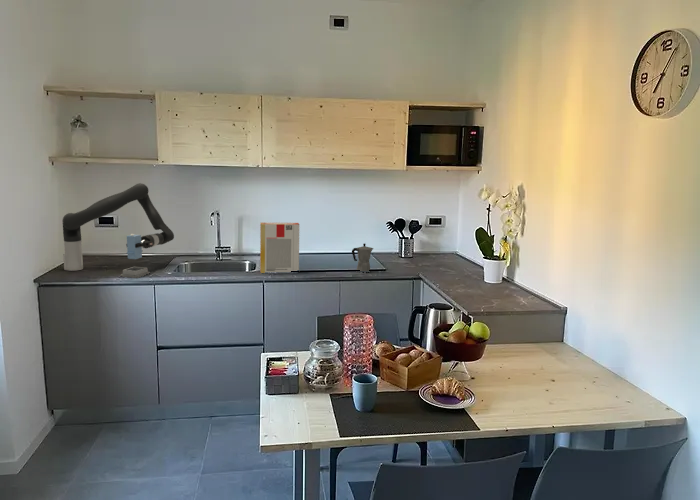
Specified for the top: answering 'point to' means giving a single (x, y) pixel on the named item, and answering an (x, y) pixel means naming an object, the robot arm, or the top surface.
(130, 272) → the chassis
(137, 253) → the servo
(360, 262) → the coffeepot
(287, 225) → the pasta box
